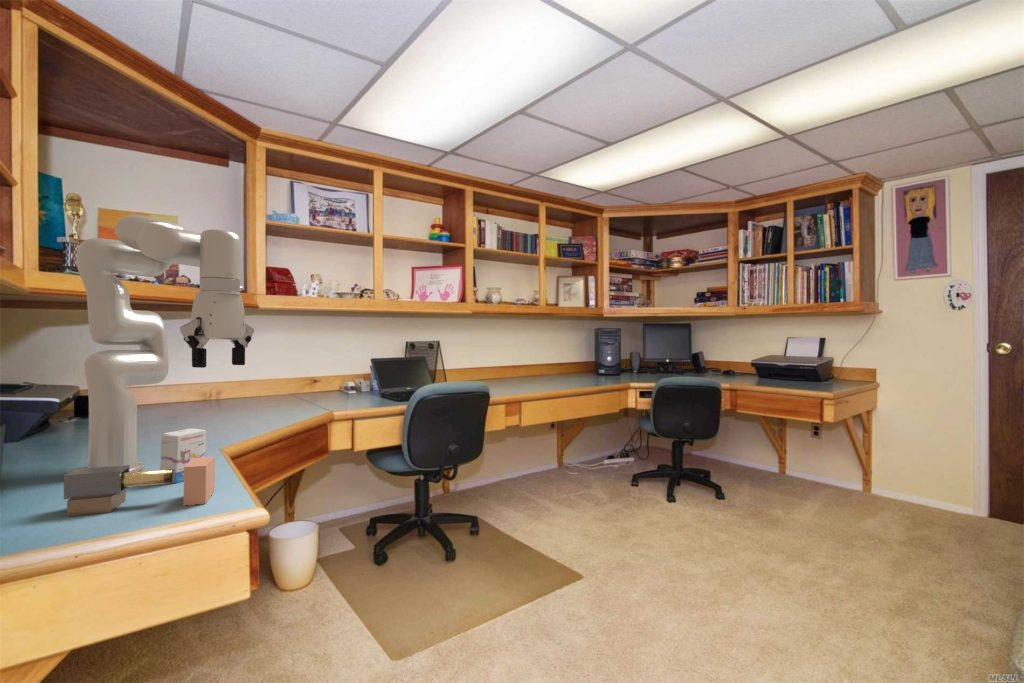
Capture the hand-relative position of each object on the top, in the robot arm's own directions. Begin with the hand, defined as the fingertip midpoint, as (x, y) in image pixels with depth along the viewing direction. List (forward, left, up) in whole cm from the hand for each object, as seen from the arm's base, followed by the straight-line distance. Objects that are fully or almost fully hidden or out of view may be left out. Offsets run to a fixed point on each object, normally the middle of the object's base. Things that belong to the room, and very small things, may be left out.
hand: (219, 366), depth 102 cm
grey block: (-17, -14, -29) cm, 37 cm away
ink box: (-23, +6, -30) cm, 38 cm away
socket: (-4, -1, -29) cm, 30 cm away
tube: (-13, -11, -25) cm, 31 cm away
